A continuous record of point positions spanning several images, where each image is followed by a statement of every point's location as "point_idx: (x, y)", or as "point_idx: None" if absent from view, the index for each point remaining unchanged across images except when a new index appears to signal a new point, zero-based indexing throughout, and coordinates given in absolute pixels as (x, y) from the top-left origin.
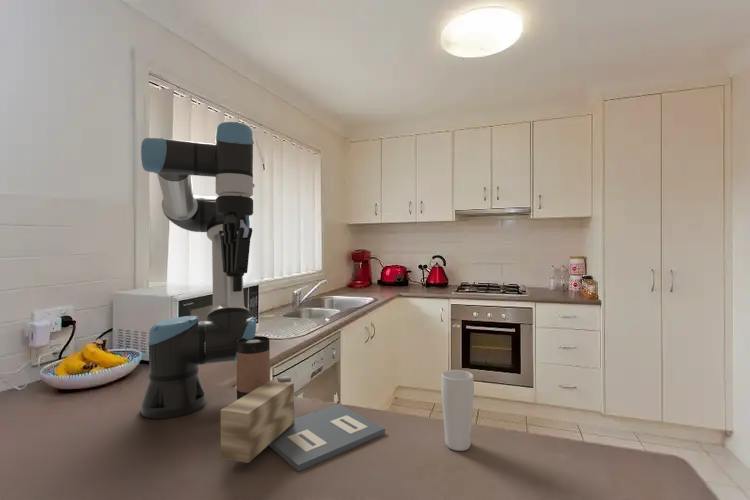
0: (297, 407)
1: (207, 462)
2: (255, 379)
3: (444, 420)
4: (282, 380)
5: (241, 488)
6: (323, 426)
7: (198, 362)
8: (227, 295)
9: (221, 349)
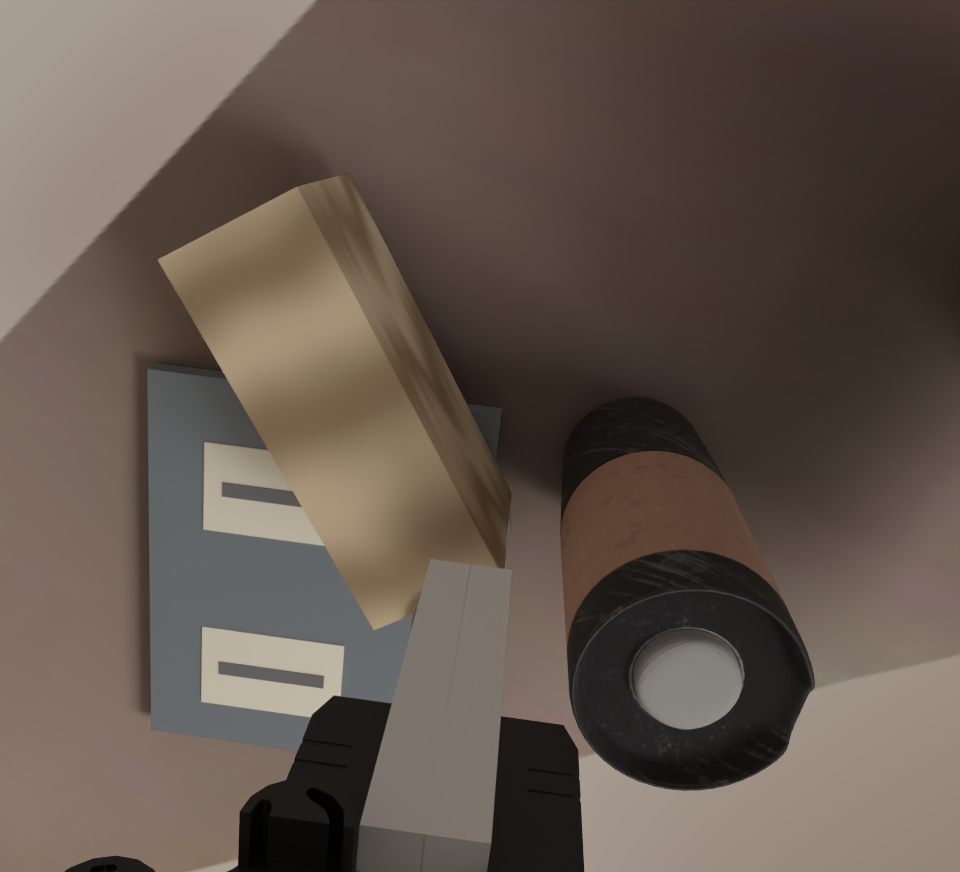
0: None
1: (459, 160)
2: (571, 530)
3: None
4: None
5: (199, 170)
6: (327, 604)
7: None
8: (503, 642)
9: None
